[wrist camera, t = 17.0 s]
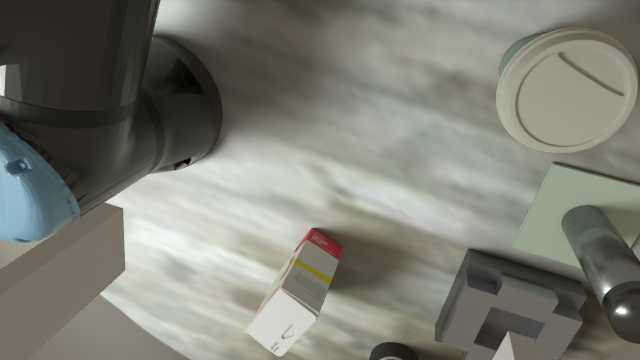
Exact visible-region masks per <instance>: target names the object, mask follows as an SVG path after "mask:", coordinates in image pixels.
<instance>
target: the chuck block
mask: <svg viewBox="0 0 640 360" xmlns="http://www.w3.org/2000/svg"><path fill="white" fill-rule="evenodd" d="M587 298H588V297H587V295H586V293H585V291H584V288H583V286H582V284H581V282H579V281H575V280H572V279H569V278H565V277H562V276H558V275H555V274H552V273H548V272H545V271H542V270H538V269H535V268H532V267H528V266H525V265H522V264H518V263H515V262H511V261H508V260H505V259H501V258H498V257H495V256H491V255H488V254H485V253H481V252H478V251H475V250H471V249H468V251H467V253H466V255H465V258H464V260H463V262H462V265H461V267H460V269H459V271H458V274H457V276H456V278H455V281H454V283H453V285H452V288H451V290H450V292H449V295H448V297H447V299H446V302H445V304H444V306H443V309H442V311H441V313H440V315H439V318H438V320H437V322H436V325H435V341H438V342H441V343H442V344H445V345H448V346H451V347H454V348H457V349H460V350H463V356H464V360H492V359H493V358H494V356H495V354H496V352H497V350H498V349H499V347H500V345H501V343H502V341H503V340H504V338H505V336H506V334H507V332H508V331H510V332H514V333H517V334H520V335H523V336H526V337H529V338H532V339H534V340H535V344H536V347H537V351H538V354H539V358H540V360H559V359H560V357H561V356H562V354H563V353H564V351H565V349H566V348H567V346H568V345H569V343H570V342H571V340H572V339H573V337H574V336H575V334H576V333H577V331H578V330H579V328H580V327H581V325H582V323H583V321H582V319H581V317H580V314H579V310H580V309H581V307H582V305H583V304H584V302H585V301H586V299H587Z"/></svg>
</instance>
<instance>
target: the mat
mask: <svg viewBox="0 0 640 360" xmlns="http://www.w3.org/2000/svg"><path fill="white" fill-rule="evenodd" d="M581 205H591V206H595V207H597V208H599V209H601V210H602V211H603V212H604V213H605V215H606V216H607V217H608V219H609V220H610V221H611V223H612V224H613V226H614V227H615V228H616V230H617V231H618V232H619V234H620V235H621V236H622V238H623V239H624V240H625V242H626V243H627V245H628V246H629V247H631V246H632V244H633V243H634V241H635V240H636V238H637V237H638V235H639V234H640V185H637V184H634V183H630V182H626V181H622V180H618V179H614V178H611V177H607V176H603V175H599V174H595V173H591V172H588V171H584V170H580V169H576V168H572V167H568V166H565V165H561V164H557V163H553V162H552V164H551V166H550V168H549V170H548V172H547V174H546V176H545V178H544V180H543V182H542V184H541V186H540V188H539V190H538V193H537V195H536V197H535V199H534V201H533V203H532V205H531V207H530V209H529V211H528V213H527V215H526V217H525V219H524V221H523V223H522V225H521V227H520V229H519V231H518V233H517V235H516V238H515V240H514V242H513V244H512V247H513V248H515V249H518V250H521V251H525V252H528V253H532V254H535V255H538V256H542V257H545V258H549V259H552V260H555V261H559V262H562V263H566V264H569V265H573V266H576V267H579V268H582V267H581V265H580V263H579V261H578V259H577V258H576V256H575V254H574V252H573V250H572V248H571V246H570V244H569V242H568V240H567V238H566V236H565V234H564V232H563V230H562V227H561V221H562V218H563V216H564V215H565V214H566V213H567V212H568V211H569V210H570V209H572V208H574V207H577V206H581Z"/></svg>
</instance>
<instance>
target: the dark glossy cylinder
mask: <svg viewBox="0 0 640 360" xmlns="http://www.w3.org/2000/svg"><path fill="white" fill-rule="evenodd" d="M561 227H562V230H563V232H564V234H565V236H566V238H567V240H568V242H569V244H570V246H571V248H572V250H573V252H574V254H575V256H576V258H577V259H578V261H579V263H580V265H581V267H582V269H583V271H584V273H585V275H586V277H587V279H588V281H589V283H590V285H591V287H592V289H593V291H594V293H595V295H596V297H597V299H598V301H599V303H600V304H601V306H602V308H603V310H604V312H605V314H606V316H607V318H608V320H609V322H610V324H611V326H612V328H613V330H614V331H615V333H616V334H617V335H618V336H619V337H621V338H622V339H624V340H626V341H629V342H632V343H637V344H640V261H639V259H638V258H637V257H636V255H635V254H634V253H633V251H632V250H631V249H630V247H629V246H628V245H627V243H626V242H625V240H624V239H623V238H622V236H621V235H620V234H619V232H618V231H617V230H616V228H615V227H614V226H613V224H612V223H611V221H610V220H609V219H608V217H607V216H606V215H605V213H604V212H603V211H602V210H601V209H599V208H597V207H595V206H591V205H581V206H577V207H574V208H572V209H570V210H569V211H568V212H567V213H566V214H565V215H564V216H563V218H562V221H561Z"/></svg>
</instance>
